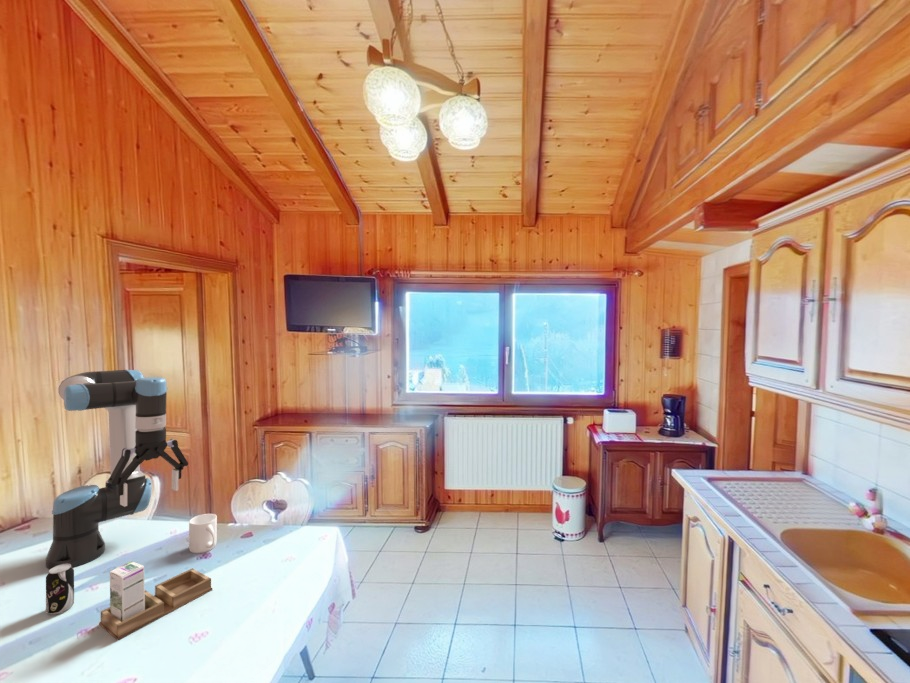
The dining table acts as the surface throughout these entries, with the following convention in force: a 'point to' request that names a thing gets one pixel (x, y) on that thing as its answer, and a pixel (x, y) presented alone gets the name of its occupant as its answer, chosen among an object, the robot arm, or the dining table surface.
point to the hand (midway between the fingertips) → (150, 497)
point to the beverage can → (59, 589)
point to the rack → (159, 602)
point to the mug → (202, 533)
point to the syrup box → (127, 591)
